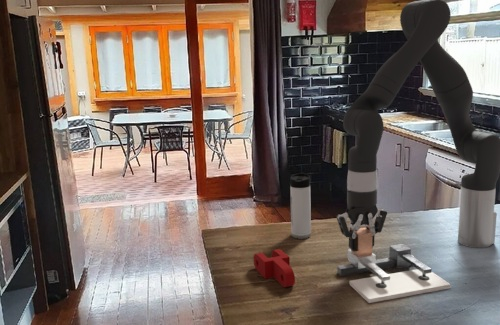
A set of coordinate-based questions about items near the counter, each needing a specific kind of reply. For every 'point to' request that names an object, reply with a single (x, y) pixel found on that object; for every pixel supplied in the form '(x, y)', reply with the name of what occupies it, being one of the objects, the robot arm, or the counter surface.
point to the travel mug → (300, 206)
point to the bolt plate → (398, 285)
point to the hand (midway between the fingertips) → (361, 248)
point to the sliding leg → (366, 255)
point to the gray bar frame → (389, 262)
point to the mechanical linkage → (275, 267)
